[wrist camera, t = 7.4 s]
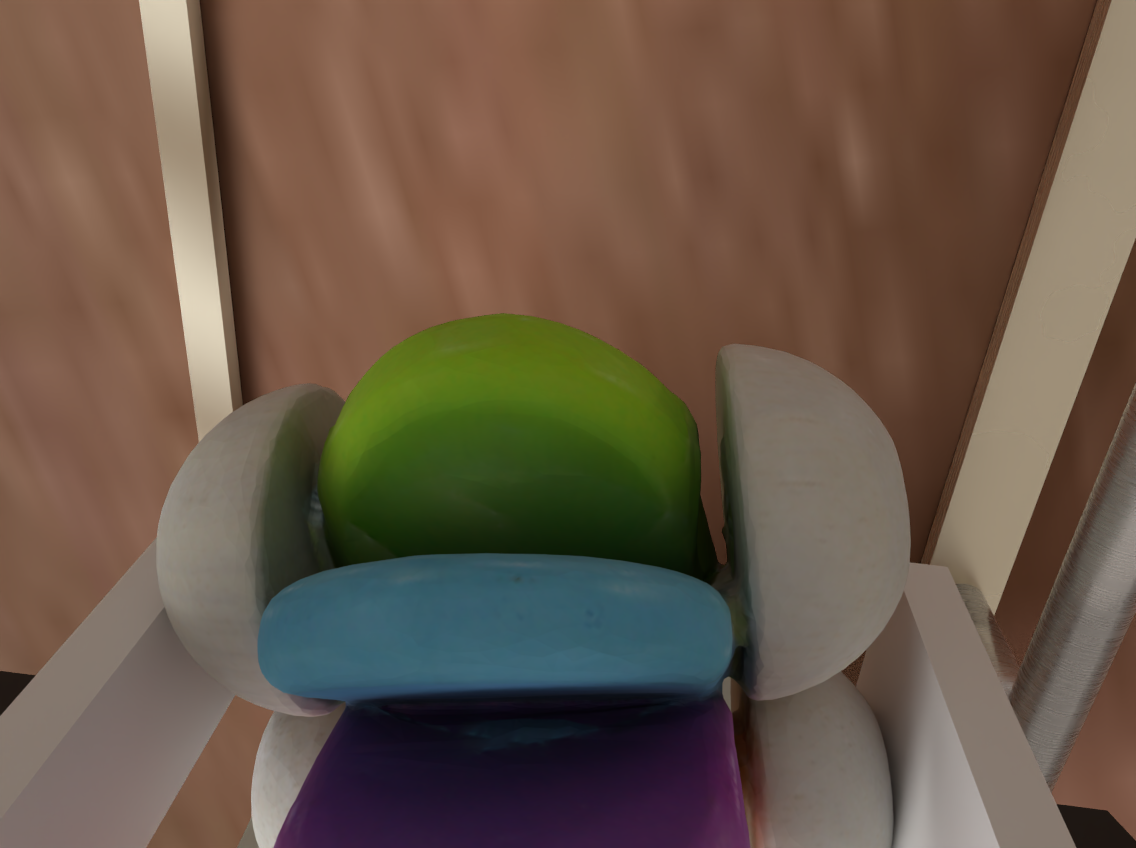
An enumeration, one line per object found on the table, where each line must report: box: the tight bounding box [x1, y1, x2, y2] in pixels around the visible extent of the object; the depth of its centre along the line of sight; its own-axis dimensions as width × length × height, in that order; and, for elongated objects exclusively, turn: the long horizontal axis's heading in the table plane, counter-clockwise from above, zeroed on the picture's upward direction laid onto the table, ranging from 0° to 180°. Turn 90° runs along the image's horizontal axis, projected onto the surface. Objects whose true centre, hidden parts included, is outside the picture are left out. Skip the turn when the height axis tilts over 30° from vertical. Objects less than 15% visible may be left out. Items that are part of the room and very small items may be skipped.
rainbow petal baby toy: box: [156, 313, 911, 848], centre depth 10 cm, size 8×10×7 cm
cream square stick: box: [139, 0, 243, 442], centre depth 20 cm, size 25×1×1 cm, turn 176°
